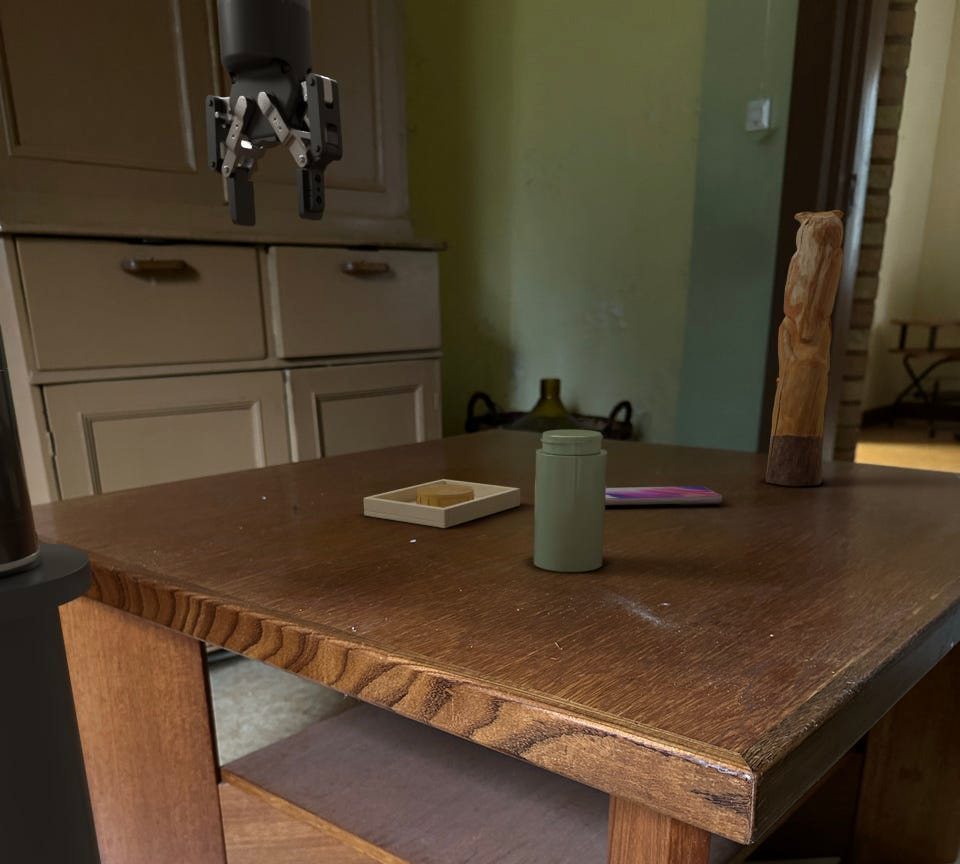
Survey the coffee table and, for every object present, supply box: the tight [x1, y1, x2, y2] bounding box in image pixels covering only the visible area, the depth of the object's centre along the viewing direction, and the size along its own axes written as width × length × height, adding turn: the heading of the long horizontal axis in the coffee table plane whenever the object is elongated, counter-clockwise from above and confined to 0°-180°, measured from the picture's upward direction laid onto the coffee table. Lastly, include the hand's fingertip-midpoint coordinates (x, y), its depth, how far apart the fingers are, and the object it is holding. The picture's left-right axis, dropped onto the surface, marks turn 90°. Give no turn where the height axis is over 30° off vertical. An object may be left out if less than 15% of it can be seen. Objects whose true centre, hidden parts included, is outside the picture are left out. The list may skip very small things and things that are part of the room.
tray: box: [363, 478, 521, 529], centre depth 94 cm, size 13×10×2 cm
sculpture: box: [765, 209, 844, 488], centre depth 105 cm, size 7×9×30 cm
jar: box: [532, 429, 609, 573], centre depth 72 cm, size 6×6×10 cm
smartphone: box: [605, 485, 723, 506], centre depth 98 cm, size 7×1×15 cm
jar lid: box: [416, 484, 474, 508], centre depth 93 cm, size 6×6×2 cm
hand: (276, 222), depth 80 cm, fingers open, 8 cm apart
